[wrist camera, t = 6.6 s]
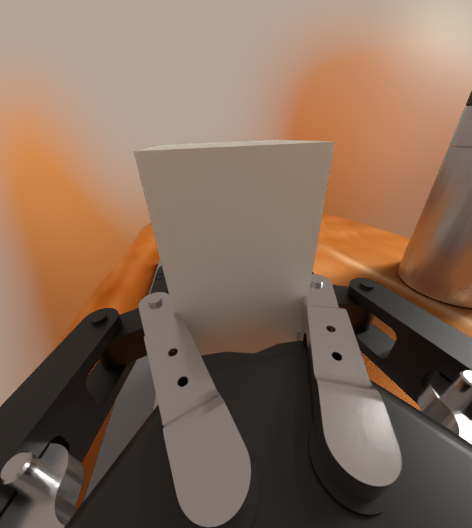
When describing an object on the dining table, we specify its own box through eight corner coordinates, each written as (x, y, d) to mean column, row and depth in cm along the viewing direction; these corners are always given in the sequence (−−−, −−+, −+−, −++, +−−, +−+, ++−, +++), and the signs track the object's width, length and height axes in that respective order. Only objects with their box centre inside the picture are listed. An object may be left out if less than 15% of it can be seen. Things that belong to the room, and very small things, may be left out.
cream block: (201, 353, 16) (163, 144, 9) (265, 344, 17) (275, 139, 10) (202, 429, 12) (133, 150, 5) (287, 413, 13) (335, 142, 6)
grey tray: (163, 262, 32) (159, 244, 30) (268, 251, 34) (269, 234, 32) (61, 634, 8) (16, 636, 7) (438, 531, 10) (474, 514, 8)
